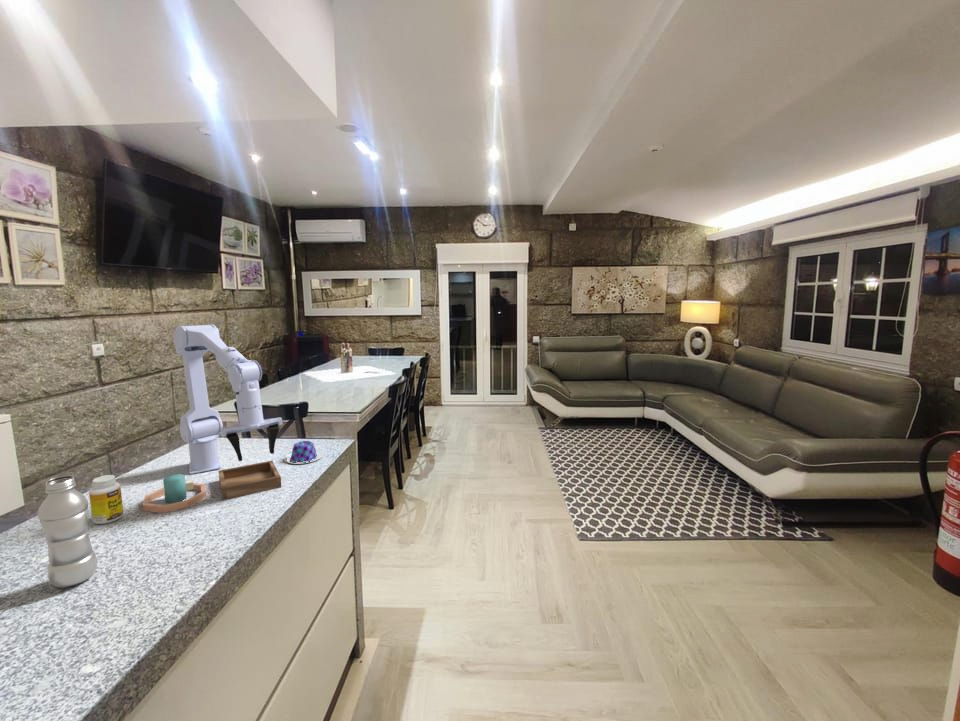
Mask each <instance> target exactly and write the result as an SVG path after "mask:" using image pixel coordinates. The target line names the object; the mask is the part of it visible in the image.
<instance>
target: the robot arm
mask: <svg viewBox="0 0 960 721" xmlns="http://www.w3.org/2000/svg"><path fill="white" fill-rule="evenodd" d="M172 335H173V343H174V349H175V352H176V354H177V355H180V356H181V358H182V363H183V370H184V376H185V385H186V391H187V396H188V397H187V398H188V404H189V409H188V410H187V411H186V412H185V413H184V414H183V415H182V416H181V417H180V418H179V419H180V420H179V423H180V425H179V434H180V437H181V439H182V440H183V441H184V442H185V443H188V450H189V452H188V454H189V461H190V462H189V464H188V467H189V468H188V471H189V475H192V474H198V473H203V472H209V471H214V470H215V471H216V470H220V469H222V465H221V460H220V457H219V452H218V439H219V438H220V436H221V437H222V438H223V437H225V438H227V440H228V441H229V443H230V444H231V446H232V447H233V449H234V451H235V454H236V456H237V459H238V462H242V461H243V455H242V452H241V445H240V437H239V434H240V433H247V432H250V431H256V430H261V429H262V430H263V429H265V428H266V433H267V440H268V449H269V450H268V451H269V454H272V455H273V454H275V445H276V440H277V436H278V434H279V432H280V426H282V425H283V418H282V417H281V416H280V417H274V418H273V417H272V418H266V419H265V418H264V413H263V406H262V405H263V404H262V397H261V391H260V383H259V382H261V380H262V377H263V370H262V367H261V364H260V363H259V362H258V361H257V360H251V359H247V358H246V357H245V356H244V355H243V354H242V353H241V352H240V351H238V350H237V349H236V348H235V347H234V346H227V344H226V343H225V341H223V340H222V338H221V337H220V335H221V334H220V331H219V328H218V327H216V325H215V324H211V323H210V324H201V325H199V324H198V325H178V326H176V328H175V329H174V332H173V334H172ZM207 352H211V353H212V354H213V355H215V362H216V363H217V365H219V366H220V367H222V369H223V370H224V371H225V372H226V373H227V378H228V380H229V383H230V384H231V388H232V391H233V392H234V393H235V394H234V395H235V400H236V408H237V416H238V422H239V423H238V424H234V425H231V426H226V427H223V426H224V424H223V421H222V419H221V416H220V412H219V411H218V410H216V409H214V408H212V407H210V401H209V395H208V394H209V393H208V388H207V381H206V372H205V366H204V358H203V357H204V355H205V354H206V353H207Z"/></svg>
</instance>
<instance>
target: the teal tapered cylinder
mask: <svg viewBox="0 0 960 721" xmlns="http://www.w3.org/2000/svg"><path fill="white" fill-rule="evenodd" d="M162 481H163V482H162V484H163V487H164V492H165V494H164V499H165V500H164V501H165V504H166V505H167V504H172V503H176V502H181V501H183V500H184V499H185V500H187V498H186V497H187V496H188V495H187V491H194V490H193V489H194V487H193V483H194V480H191V481H187V482H186V477H185V474H181V473H177V474H173V475H168V476H166V477H164V478H163V480H162ZM185 500H184V501H185Z"/></svg>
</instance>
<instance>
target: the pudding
mask: <svg viewBox="0 0 960 721" xmlns="http://www.w3.org/2000/svg"><path fill="white" fill-rule="evenodd" d="M316 452H317V453H318V454H319V457H318V456H317V453H316ZM291 454H292V455H291ZM290 455H291V459H292V461H297V462H302V463H303V461H310V462H306V463H305V464H307V463H312V462H315V461H317V460H320V459H321V458H323V457H324V452H322V451H320V450H318V449H317V450H316V448H315V445H314V443H313V442H312V441H310V440H302V441H298V442H296V443H293V446H292V452H291V453H289V454H287V455H285V456H284V458H283V460H284V461H285V462H286V463H289V464H294V465H295V464H297V465H299V464H300V465H301V464H302V463H297V462H296V463H292V462H288V461H287V457H288V456H290ZM316 456H317V457H318V458H317V457H316ZM316 458H317V459H316ZM291 459H290V460H291ZM312 459H314V460H313V461H312Z"/></svg>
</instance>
